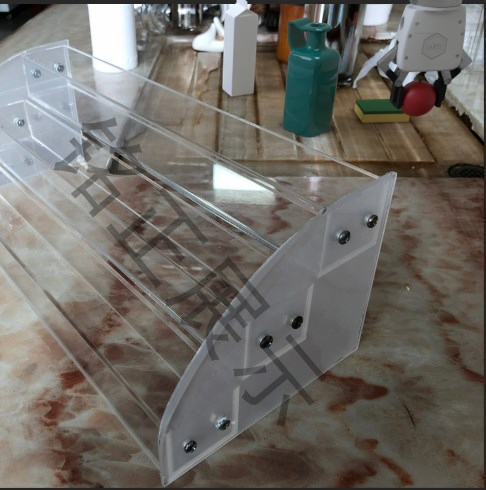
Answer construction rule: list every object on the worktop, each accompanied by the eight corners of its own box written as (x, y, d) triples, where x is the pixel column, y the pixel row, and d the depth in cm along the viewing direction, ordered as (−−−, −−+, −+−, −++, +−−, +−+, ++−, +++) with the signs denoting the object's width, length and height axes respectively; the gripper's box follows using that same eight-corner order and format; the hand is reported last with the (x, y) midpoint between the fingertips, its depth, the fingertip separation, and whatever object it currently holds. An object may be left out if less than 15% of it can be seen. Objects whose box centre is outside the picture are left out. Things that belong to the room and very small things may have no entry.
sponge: (398, 111, 135) (400, 98, 133) (408, 123, 129) (411, 110, 128) (353, 112, 135) (355, 99, 134) (362, 124, 130) (364, 111, 128)
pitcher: (334, 129, 127) (349, 23, 115) (308, 140, 123) (321, 31, 111) (299, 116, 134) (310, 14, 122) (273, 127, 130) (281, 22, 117)
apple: (424, 108, 108) (432, 70, 104) (437, 121, 103) (446, 82, 99) (390, 109, 108) (396, 72, 104) (401, 122, 103) (408, 83, 99)
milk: (231, 98, 145) (234, 3, 132) (222, 90, 150) (224, -3, 137) (254, 95, 146) (259, 0, 134) (244, 87, 151) (248, -6, 138)
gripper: (389, 4, 92) (371, 115, 101) (503, -1, 91) (474, 111, 101) (375, -6, 98) (360, 100, 108) (481, -11, 97) (456, 96, 107)
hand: (415, 104), depth 104 cm, fingers closed on apple, 6 cm apart
